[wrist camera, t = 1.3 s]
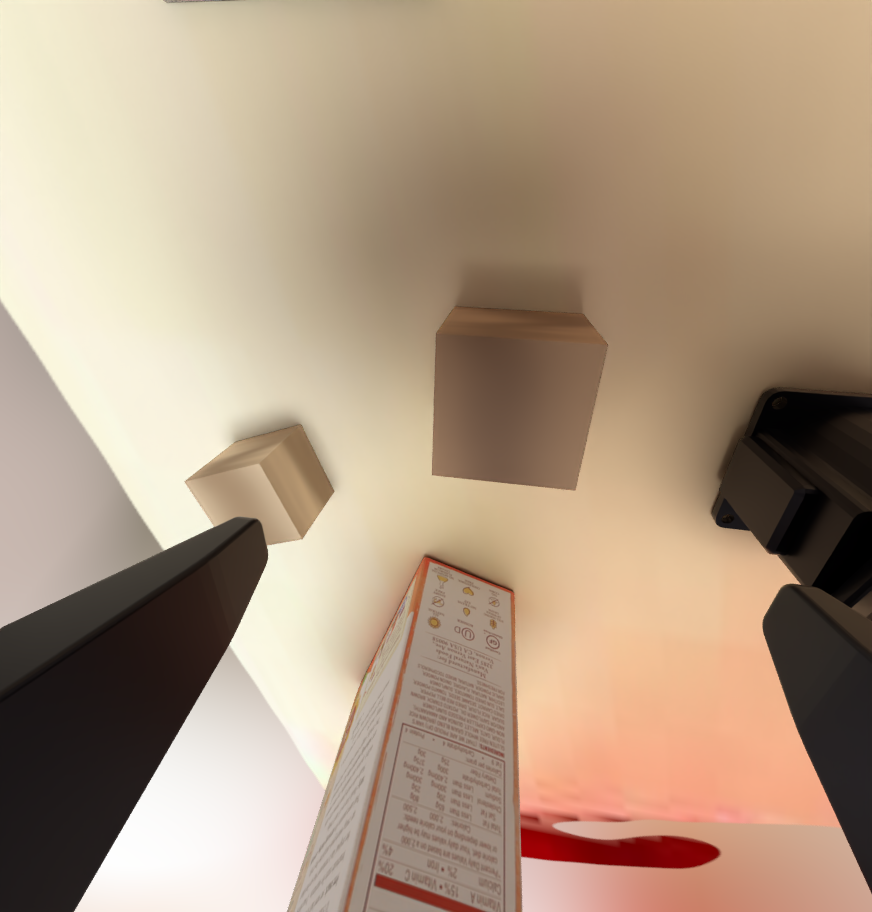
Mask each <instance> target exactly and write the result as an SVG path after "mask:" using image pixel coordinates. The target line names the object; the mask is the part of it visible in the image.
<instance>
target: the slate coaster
mask: <svg viewBox="0 0 872 912" xmlns="http://www.w3.org/2000/svg"><path fill="white" fill-rule="evenodd" d="M164 1H165V2H189V1H220V0H164Z"/></svg>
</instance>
